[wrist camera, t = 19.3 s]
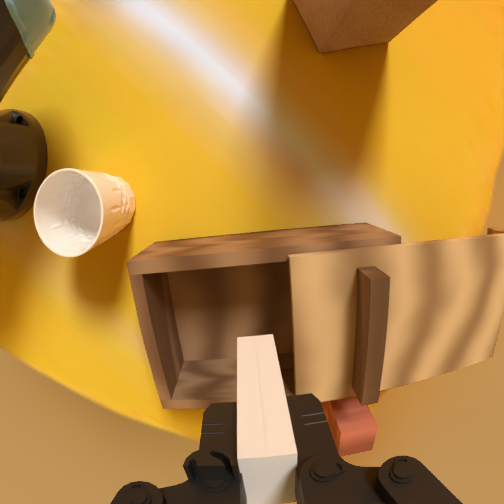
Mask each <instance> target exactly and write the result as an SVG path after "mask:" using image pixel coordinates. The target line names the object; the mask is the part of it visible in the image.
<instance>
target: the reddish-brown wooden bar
mask: <svg viewBox="0 0 504 504" xmlns="http://www.w3.org/2000/svg"><path fill="white" fill-rule="evenodd" d="M321 404H322V407H323V410H324V414H325V416H326V419H327V422H328V425H329V428H330V430H331V433H332V436H333V439H334V442H335V445H336V448H337V451H338V453H339V455H340V456H345V455H350V454H355V453H360V452H365V451H369V450H372V448H373V444H374V440H375V436H376V431H377V427H378V426H377V424H376V422H375V420H374V418H373V416H372V414H371V412H370V410H369V408H368V406H367V405H364V406H361V404H360V402H359V400H358V398H357V396H353V397H348V398H342V399H336V400H330V401H324V402H321Z"/></svg>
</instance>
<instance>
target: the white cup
mask: <svg viewBox="0 0 504 504" xmlns="http://www.w3.org/2000/svg"><path fill="white" fill-rule="evenodd" d="M134 212H135V195H134V193H133V191H132V189H131V187H130V185H129V184H128V183H127V182H126V181H124V180H123V179H122V178H121V177H118V176H113V175H109V174H106V173H101V172H95V171H88V170H79V169H72V168H64V169H60V170H57V171H55V172H53V173H52V174H50V175H49V176H48V177H47V178H46V179H45V180H44V181H43V183H42V184H41V186H40V187H39V189H38V192H37V194H36V197H35V202H34V222H35V226H36V230H37V232H38V235H39V237H40V238H41V240H42V242H43V243H44V244H45V245H46V247H47V248H48V249H50V250H51V251H52V252H54V253H55V254H57V255H59V256H62V257H69V258H71V257H77V256H80V255H82V254H84V253H86V252H88V251H89V250H91V249H93V248H94V247H96V246H98V245H99V244H101V243H103V242H104V241H106V240H107V239H109V238H111V237H112V236H114V235H115V234H117V233H118V232H119V231H121V230H122V229H123V228H125V227H126V226H127V225H128V224H129V223H130V222H131V219H132V217H133V214H134Z"/></svg>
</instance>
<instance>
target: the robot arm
mask: <svg viewBox="0 0 504 504" xmlns="http://www.w3.org/2000/svg"><path fill="white" fill-rule="evenodd" d="M55 19H56V13H55V9H54V7H53V5H52V3H51V2H50V0H0V102H1V101H2V99H3V97H4V96H5V94H6V93H7V91H8V89H9V88H10V86H11V85H12V83H13V82H14V80H15V79H16V78H17V76H18V75H19V73H20V72H21V70H22V69H23V68H24V66H25V65H26V64H27V62H28V61H29V59H32V58H33V56H34V52H35V51H36V49H37V48H38V46H39V45H40V44H41V42H42V41H43V39H44V38H45V37H46V36H47V34H48V33H49V32H50V30H51V29H52V27H53V25H54V23H55ZM46 167H47V146H46V140H45V136H44V133H43V130H42V128H41V126H40V124H39V122H38V121H37V120H36V119H35V118H34V117H33V116H32V115H31V114H29V113H27V112H24V111H19V110H15V109H6V110H2V111H0V222H3V221H8V220H13V219H16V218H18V217H20V216H22V215H23V214H24V213H26V212H27V211H28V210H29V209H30V208H31V206H32V205H33V204H34V202H35V197H36V194H37V192H38V189H39V187H40V186H41V184H42V183H43V181H44V178H45V173H46ZM183 467H184V470H185V472H186V474H187V477H188V480H187V481H185V482H183V483H181V484H178V485H175V486H170V487H164V488H159V489H158V488H157V487H156V486H155V485H153V484H151V483H149V482H142V481H137V482H131V483H129V484H127V485H125V486H123V487H122V488H121V489H120V490H119V491H118V493H117V494H116V496H115V497H114V499H113V500H112V502H111V504H282V503H290V502H296V501H297V504H462V503H461V502H460V501H459V500H458V499H457V498H456V497H455V496H454V495H453V494H452V493H451V492H450V491H449V490H448V489H447V488H446V487H445V486H444V485H443V484H442V483H441V482H440V481H439V480H438V479H437V478H436V477H435V476H434V475H433V474H432V473H431V472H430V471H429V470H428V469H427V468H426V467H425V466H424V465H423V464H422V463H421V462H420V461H418V460H417V459H415V458H412V457H409V456H396V457H393V458H390V459H388V460H387V461H386V462H384V463H383V464H382V466H381V467H360V466H355V465H352V464H349V463H347V462H346V461H344V460H343V459H342V458H341V457H340V455H339V453H338V451H337V448H336V445H335V442H334V439H333V436H332V433H331V430H330V428H329V425H328V422H327V419H326V416H325V414H324V410H323V407H322V404H321V401H320V400H319V399H318V398H317V397H315V396H314V395H313V394H312V393H308V394H301V395H293V396H286V395H285V390H284V385H283V380H282V376H281V371H280V366H279V361H278V356H277V351H276V347H275V342H274V337H273V334H269V335H259V336H247V337H237V402H223V403H210V405H209V406H208V408H207V409H206V410H205V412H204V414H203V422H202V430H201V438H200V447H199V450H198V451H195V452H193V453H192V454H191V455H189V456H188V457H187V458H186V460H185V462H184V465H183Z"/></svg>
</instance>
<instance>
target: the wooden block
mask: <svg viewBox="0 0 504 504" xmlns="http://www.w3.org/2000/svg"><path fill="white" fill-rule="evenodd" d="M436 1H437V0H293V2H294V3H295V5H296V7H297V9H298V11H299V13H300V15H301V17H302V19H303V20H304V22H305V24H306V26H307V28H308V30H309V32H310V34H311V36H312V39H313V41H314V43H315V45H316V47H317V49H318V51H319V52H320V53H326V52H331V51H336V50H341V49H347V48H353V47H359V46H366V45H373V44H380V43H388V42H390V41H391V40H392V39H393V38H394V37H395V36H397V35H398V34H399V33H400V32H401V31H402V30H403V29H405V28H406V27H407V26H408V25H409V24H410V23H411V22H413V21H414V20H415V19H416V18H417V17H418V16H420V15H421V14H422V13H423V12H424V11H425V10H427V9H428V8H429V7H430V6H431V5H433V4H434V3H435V2H436Z"/></svg>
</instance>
